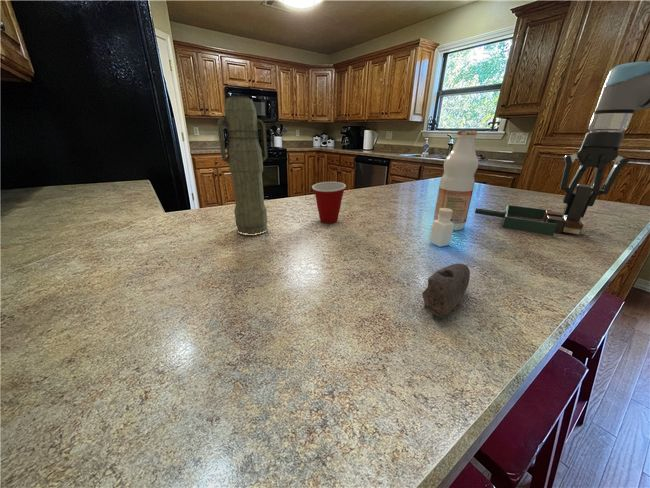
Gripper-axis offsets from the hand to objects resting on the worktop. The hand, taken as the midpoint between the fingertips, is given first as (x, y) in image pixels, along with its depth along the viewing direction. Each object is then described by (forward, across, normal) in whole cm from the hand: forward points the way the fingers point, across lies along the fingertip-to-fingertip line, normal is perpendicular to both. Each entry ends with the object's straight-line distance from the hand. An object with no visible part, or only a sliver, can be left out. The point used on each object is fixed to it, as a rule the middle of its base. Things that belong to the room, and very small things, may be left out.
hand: (572, 215), depth 81 cm
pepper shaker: (+5, +30, +35) cm, 47 cm away
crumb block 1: (+5, +4, -4) cm, 7 cm away
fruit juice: (+5, +31, +18) cm, 36 cm away
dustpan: (+5, +15, 0) cm, 16 cm away
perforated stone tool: (+5, +23, +62) cm, 66 cm away
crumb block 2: (+5, +4, +4) cm, 7 cm away
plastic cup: (+5, +65, +36) cm, 75 cm away
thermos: (+5, +78, +57) cm, 97 cm away
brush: (+4, 0, 0) cm, 4 cm away
